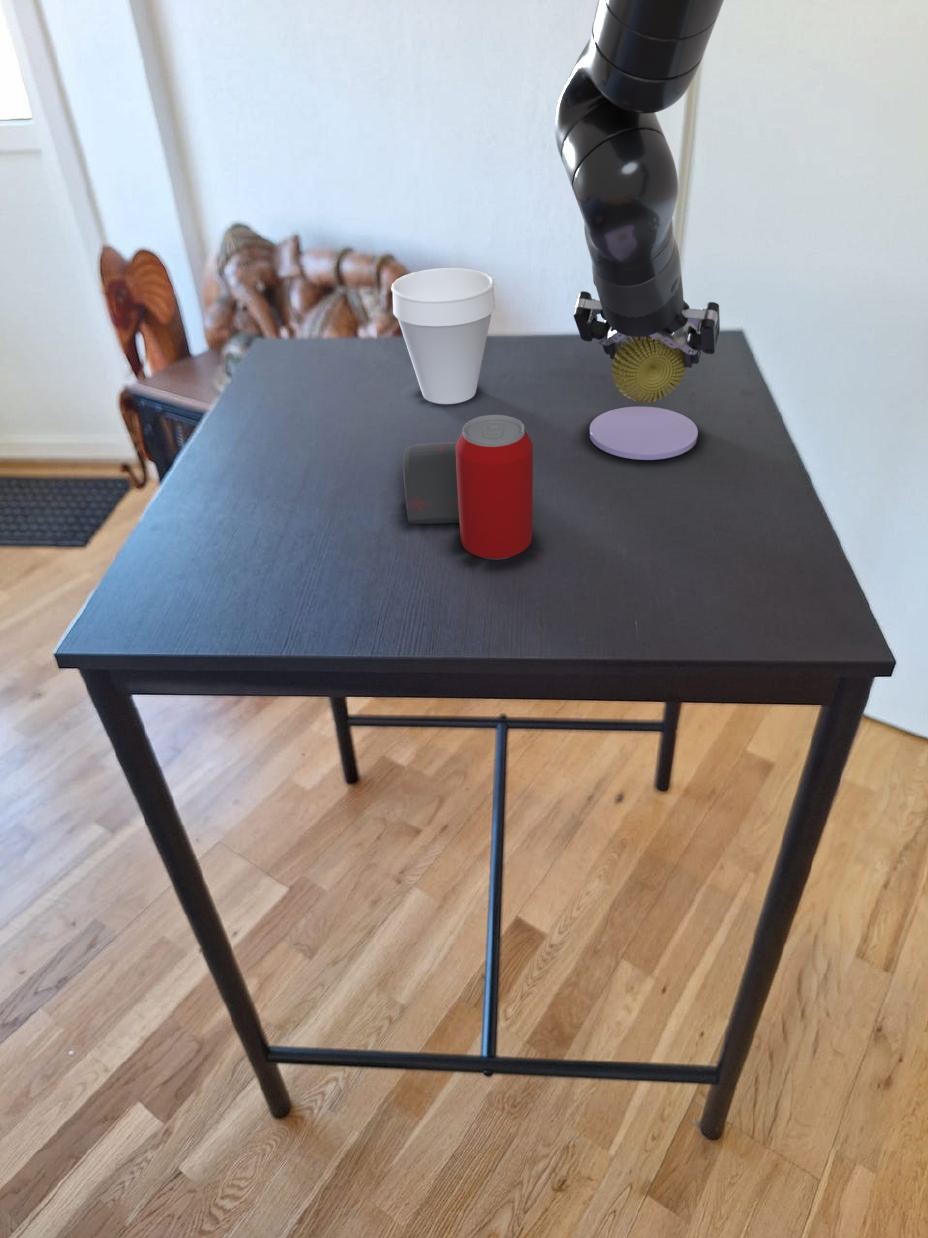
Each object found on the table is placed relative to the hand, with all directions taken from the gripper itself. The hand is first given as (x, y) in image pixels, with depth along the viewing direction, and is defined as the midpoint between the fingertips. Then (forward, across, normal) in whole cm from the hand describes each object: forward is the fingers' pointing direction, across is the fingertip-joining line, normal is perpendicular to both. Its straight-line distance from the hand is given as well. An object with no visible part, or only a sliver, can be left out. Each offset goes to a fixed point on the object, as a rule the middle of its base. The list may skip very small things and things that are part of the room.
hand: (652, 355), depth 91 cm
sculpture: (+2, 0, +4) cm, 5 cm away
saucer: (+5, 0, +7) cm, 9 cm away
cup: (+9, +26, +4) cm, 28 cm away
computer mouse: (-7, +17, +20) cm, 27 cm away
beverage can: (-13, +8, +26) cm, 30 cm away
